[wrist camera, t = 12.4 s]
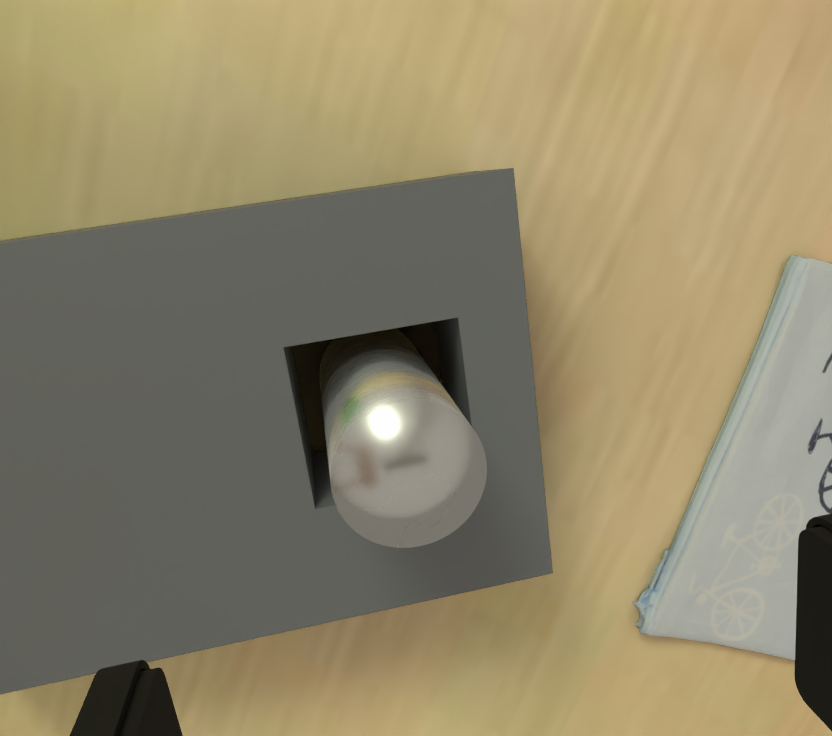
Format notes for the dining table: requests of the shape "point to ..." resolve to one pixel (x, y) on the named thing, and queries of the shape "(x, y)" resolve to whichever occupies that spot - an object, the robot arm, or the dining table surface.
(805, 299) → the folded cloth
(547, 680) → the dining table surface
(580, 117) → the dining table surface
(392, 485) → the metal peg
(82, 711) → the robot arm
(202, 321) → the socket plate
